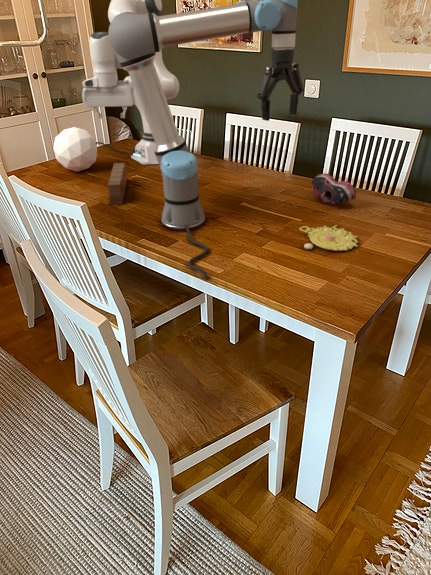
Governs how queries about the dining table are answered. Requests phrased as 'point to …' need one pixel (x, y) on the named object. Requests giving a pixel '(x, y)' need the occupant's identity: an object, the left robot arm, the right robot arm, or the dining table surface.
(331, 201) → the athletic shoe
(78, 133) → the sphere
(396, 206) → the dining table surface
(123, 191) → the bar
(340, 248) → the decorative object
